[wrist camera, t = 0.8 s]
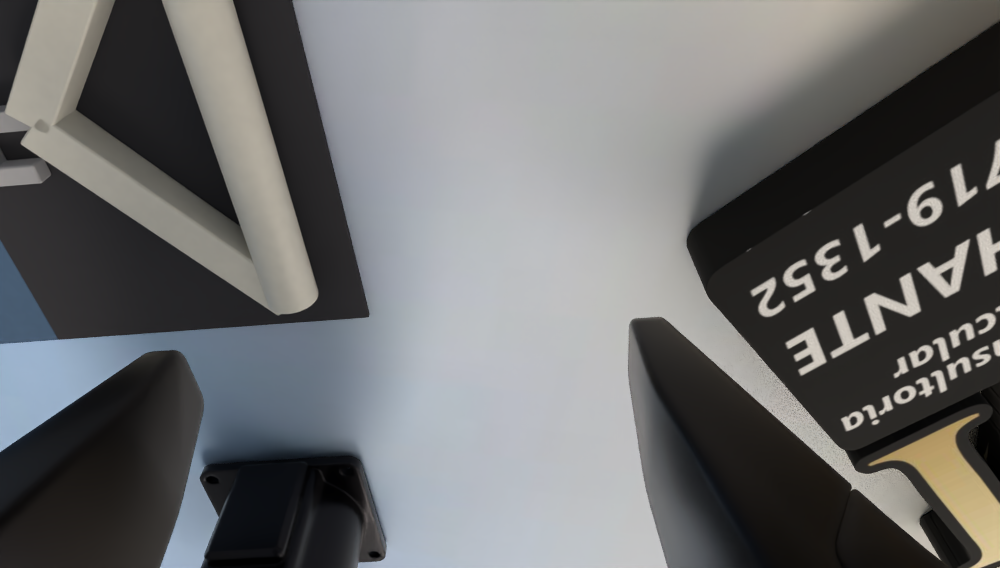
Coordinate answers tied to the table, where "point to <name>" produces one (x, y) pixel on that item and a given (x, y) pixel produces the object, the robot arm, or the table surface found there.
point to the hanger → (138, 183)
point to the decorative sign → (887, 290)
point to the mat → (184, 157)
